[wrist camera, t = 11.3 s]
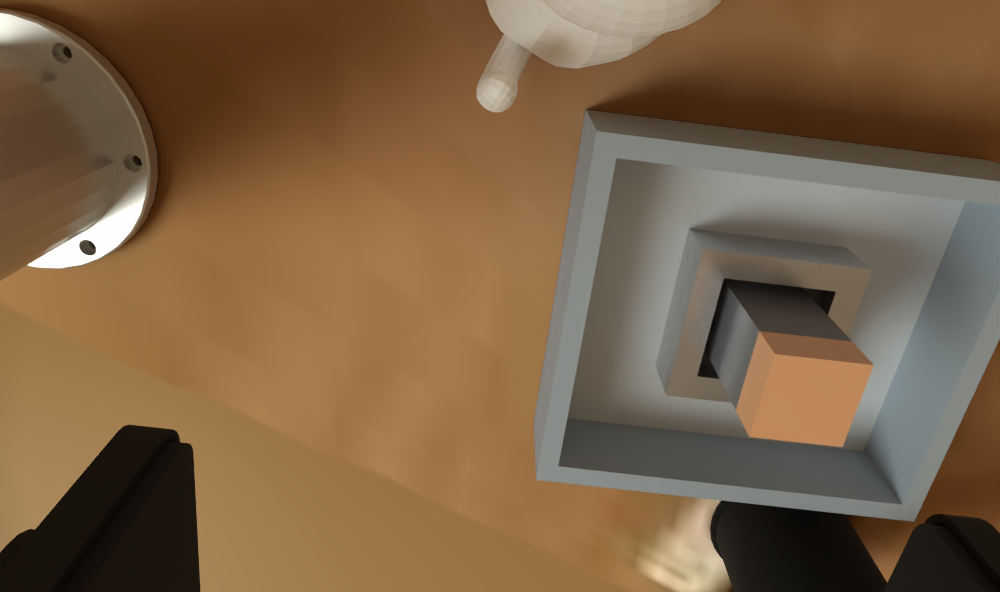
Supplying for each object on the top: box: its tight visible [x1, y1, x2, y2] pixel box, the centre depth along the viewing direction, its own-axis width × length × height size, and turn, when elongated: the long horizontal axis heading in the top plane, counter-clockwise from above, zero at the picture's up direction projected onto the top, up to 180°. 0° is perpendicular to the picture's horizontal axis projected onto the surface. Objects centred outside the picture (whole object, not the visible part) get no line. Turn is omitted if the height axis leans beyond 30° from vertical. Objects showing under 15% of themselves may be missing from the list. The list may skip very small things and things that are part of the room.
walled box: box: [534, 110, 1000, 522], centre depth 35 cm, size 20×18×5 cm
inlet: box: [656, 228, 872, 403], centre depth 36 cm, size 8×8×3 cm
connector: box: [705, 278, 874, 447], centre depth 33 cm, size 4×4×9 cm
